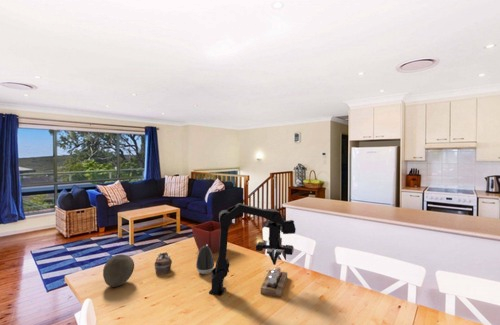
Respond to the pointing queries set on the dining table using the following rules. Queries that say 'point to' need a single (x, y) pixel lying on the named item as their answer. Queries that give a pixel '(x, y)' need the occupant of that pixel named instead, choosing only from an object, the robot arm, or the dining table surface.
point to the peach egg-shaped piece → (278, 270)
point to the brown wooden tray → (278, 289)
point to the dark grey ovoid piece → (205, 260)
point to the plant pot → (207, 235)
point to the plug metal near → (272, 280)
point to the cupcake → (163, 263)
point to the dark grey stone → (118, 270)
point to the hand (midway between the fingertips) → (274, 264)
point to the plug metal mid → (275, 273)
